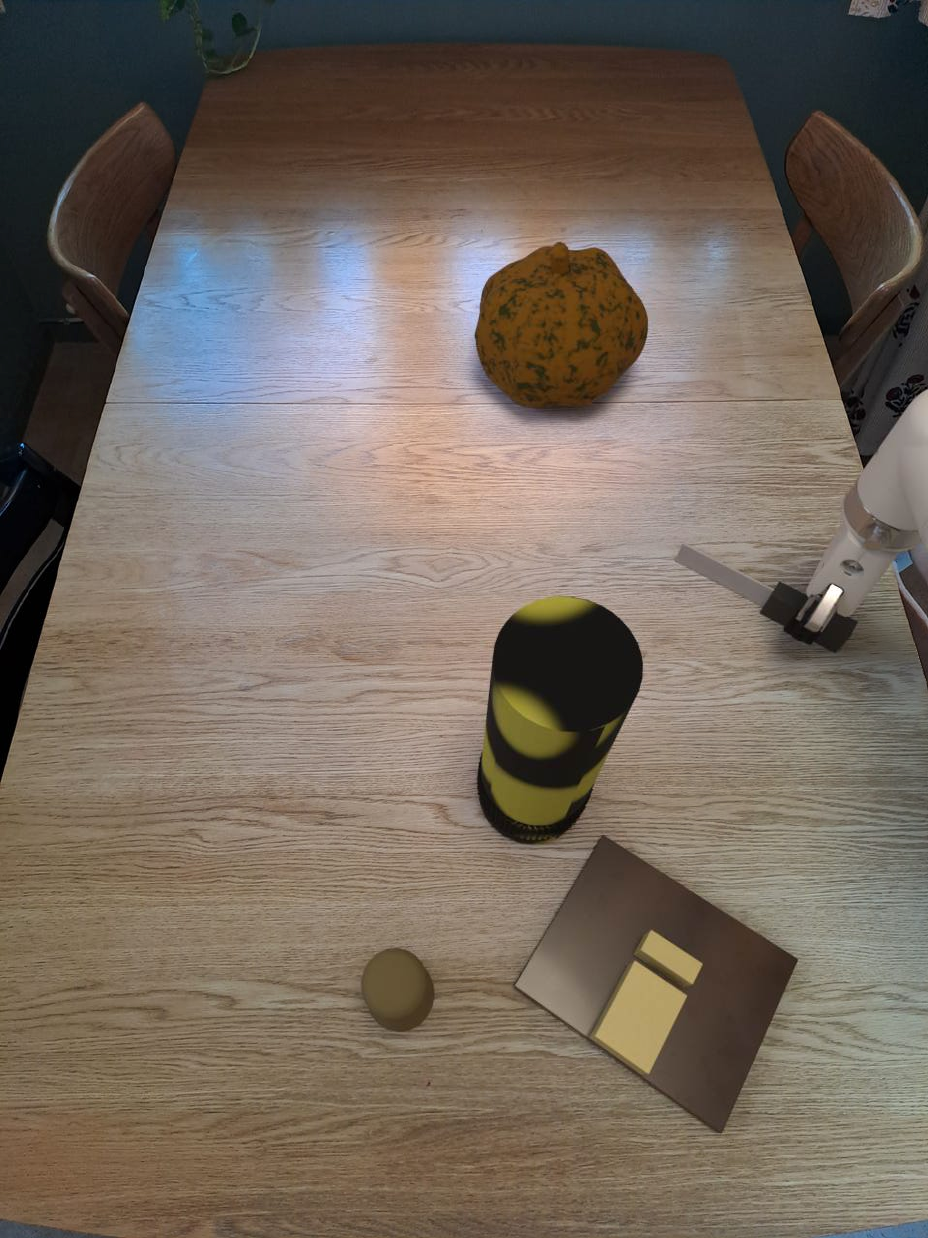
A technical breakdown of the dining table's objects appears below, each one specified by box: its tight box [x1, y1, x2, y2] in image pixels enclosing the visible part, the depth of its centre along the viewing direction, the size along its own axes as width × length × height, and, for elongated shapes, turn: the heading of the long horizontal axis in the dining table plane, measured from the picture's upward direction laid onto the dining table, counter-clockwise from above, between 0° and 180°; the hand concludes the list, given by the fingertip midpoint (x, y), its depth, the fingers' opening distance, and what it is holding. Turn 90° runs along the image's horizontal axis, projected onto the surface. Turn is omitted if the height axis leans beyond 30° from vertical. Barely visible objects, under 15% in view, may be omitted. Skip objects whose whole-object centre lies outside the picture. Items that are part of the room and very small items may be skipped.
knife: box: [674, 542, 859, 654], centre depth 93 cm, size 20×2×4 cm, turn 56°
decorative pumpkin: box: [473, 241, 649, 408], centre depth 102 cm, size 20×21×20 cm
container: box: [476, 595, 644, 845], centre depth 70 cm, size 11×11×30 cm
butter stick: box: [590, 961, 687, 1074], centre depth 71 cm, size 5×7×3 cm
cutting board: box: [513, 834, 799, 1134], centre depth 75 cm, size 20×16×2 cm
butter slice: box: [634, 930, 703, 988], centre depth 73 cm, size 5×2×3 cm, turn 56°
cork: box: [360, 947, 435, 1033], centre depth 69 cm, size 6×6×11 cm
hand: (815, 602), depth 89 cm, fingers open, 9 cm apart
